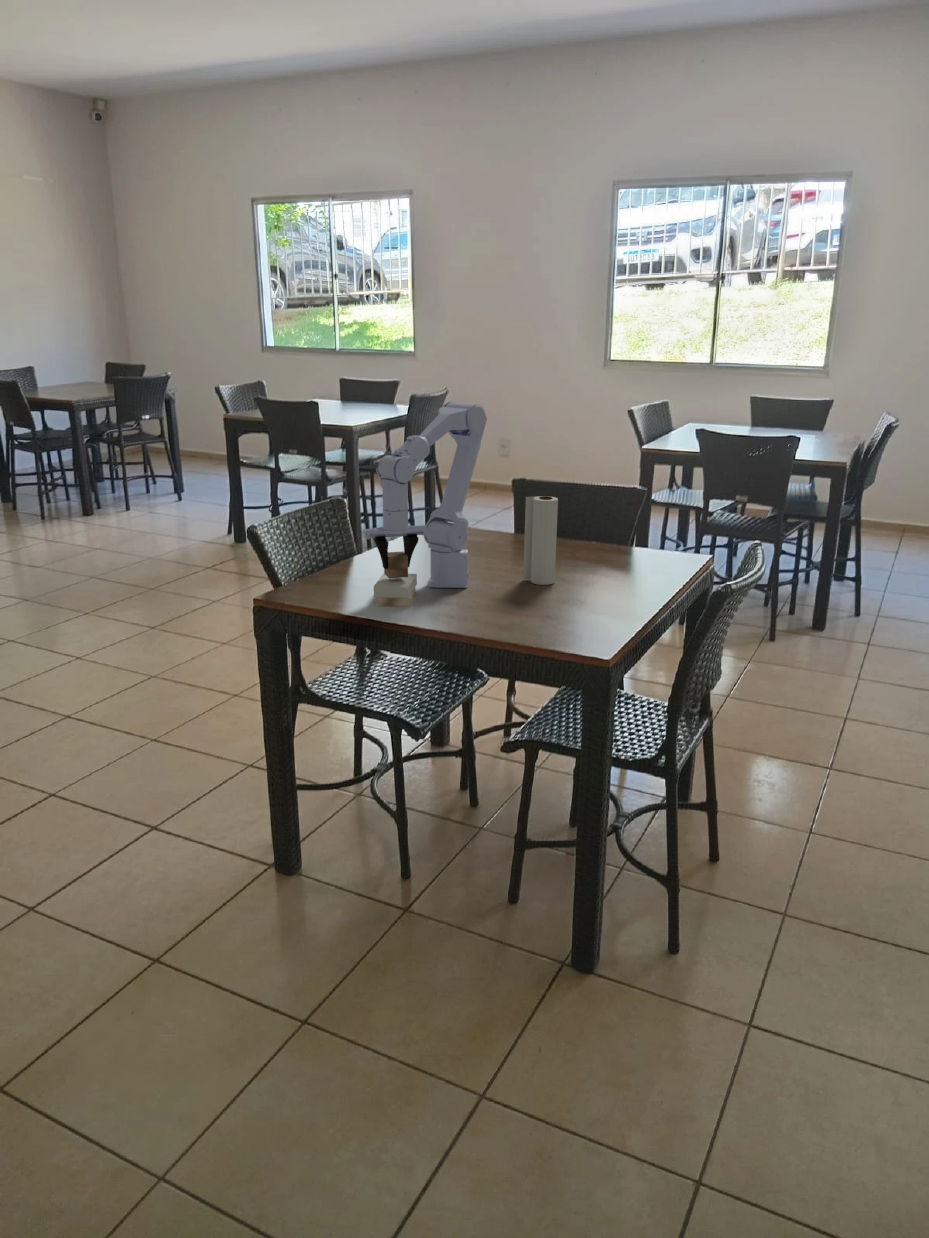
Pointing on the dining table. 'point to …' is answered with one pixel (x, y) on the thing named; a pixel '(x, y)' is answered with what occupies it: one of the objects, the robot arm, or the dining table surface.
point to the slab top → (395, 586)
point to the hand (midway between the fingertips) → (396, 567)
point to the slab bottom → (396, 601)
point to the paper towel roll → (540, 539)
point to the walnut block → (397, 565)
